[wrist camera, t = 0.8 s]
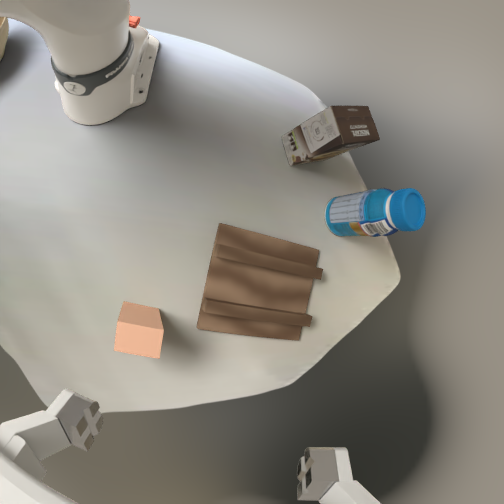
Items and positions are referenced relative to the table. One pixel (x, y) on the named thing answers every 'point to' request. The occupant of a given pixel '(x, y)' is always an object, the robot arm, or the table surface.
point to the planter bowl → (3, 34)
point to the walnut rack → (257, 285)
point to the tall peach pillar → (139, 330)
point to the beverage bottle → (375, 212)
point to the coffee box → (330, 134)
